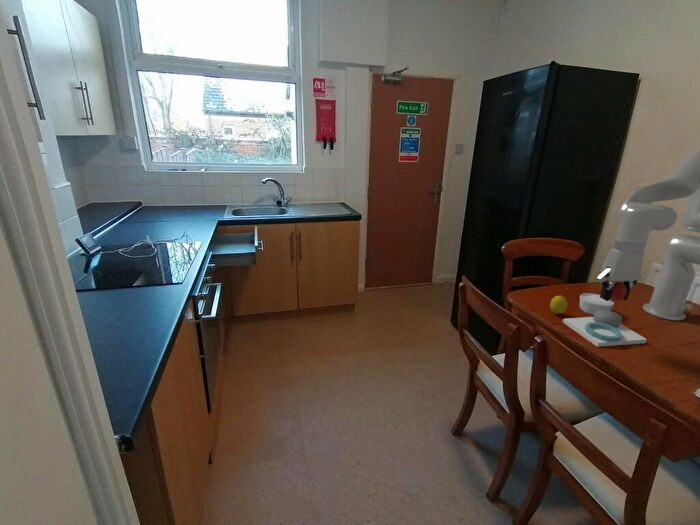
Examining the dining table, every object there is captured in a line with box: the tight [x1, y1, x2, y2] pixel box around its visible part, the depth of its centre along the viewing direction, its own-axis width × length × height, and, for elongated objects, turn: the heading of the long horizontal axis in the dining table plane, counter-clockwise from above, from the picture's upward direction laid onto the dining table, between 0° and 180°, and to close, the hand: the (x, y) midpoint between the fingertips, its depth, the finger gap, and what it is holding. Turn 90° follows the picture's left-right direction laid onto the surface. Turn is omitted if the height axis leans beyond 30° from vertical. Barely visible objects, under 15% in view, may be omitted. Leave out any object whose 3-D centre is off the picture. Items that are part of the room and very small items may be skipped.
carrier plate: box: [562, 309, 648, 348], centre depth 120 cm, size 18×16×4 cm
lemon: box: [549, 295, 568, 315], centre depth 131 cm, size 6×6×8 cm
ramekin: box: [579, 292, 615, 316], centre depth 135 cm, size 11×11×5 cm
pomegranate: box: [608, 282, 627, 303], centre depth 111 cm, size 6×6×8 cm
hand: (613, 298), depth 112 cm, fingers closed on pomegranate, 5 cm apart
